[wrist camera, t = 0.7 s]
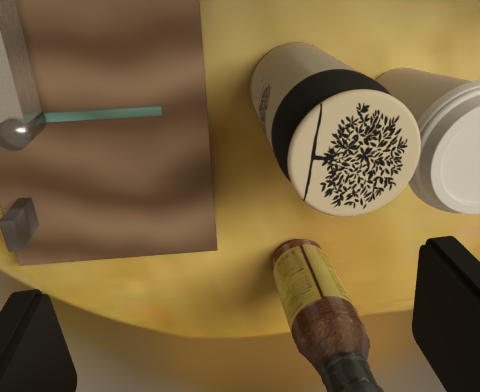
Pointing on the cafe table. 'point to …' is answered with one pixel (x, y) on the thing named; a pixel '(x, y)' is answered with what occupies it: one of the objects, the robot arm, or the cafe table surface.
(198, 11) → the jamb plate
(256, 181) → the cafe table surface
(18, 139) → the bar
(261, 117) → the travel mug
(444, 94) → the coffee cup
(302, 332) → the sauce bottle
